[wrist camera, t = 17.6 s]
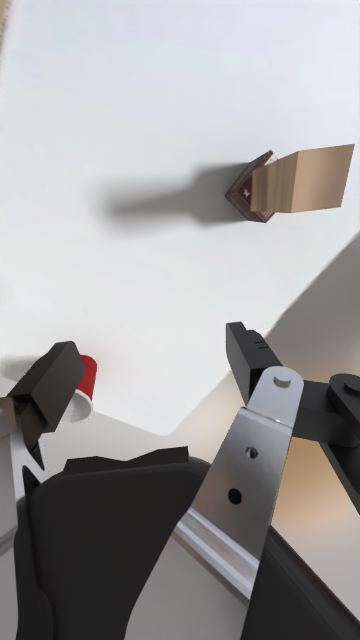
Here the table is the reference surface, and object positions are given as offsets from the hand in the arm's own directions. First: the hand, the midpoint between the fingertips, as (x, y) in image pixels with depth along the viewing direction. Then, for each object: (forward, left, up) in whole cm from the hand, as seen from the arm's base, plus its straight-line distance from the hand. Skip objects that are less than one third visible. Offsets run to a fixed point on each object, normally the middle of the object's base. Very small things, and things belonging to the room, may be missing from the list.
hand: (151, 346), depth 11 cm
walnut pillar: (+11, +12, -23) cm, 28 cm away
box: (+11, +12, -30) cm, 34 cm away
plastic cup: (-12, -30, -30) cm, 44 cm away
